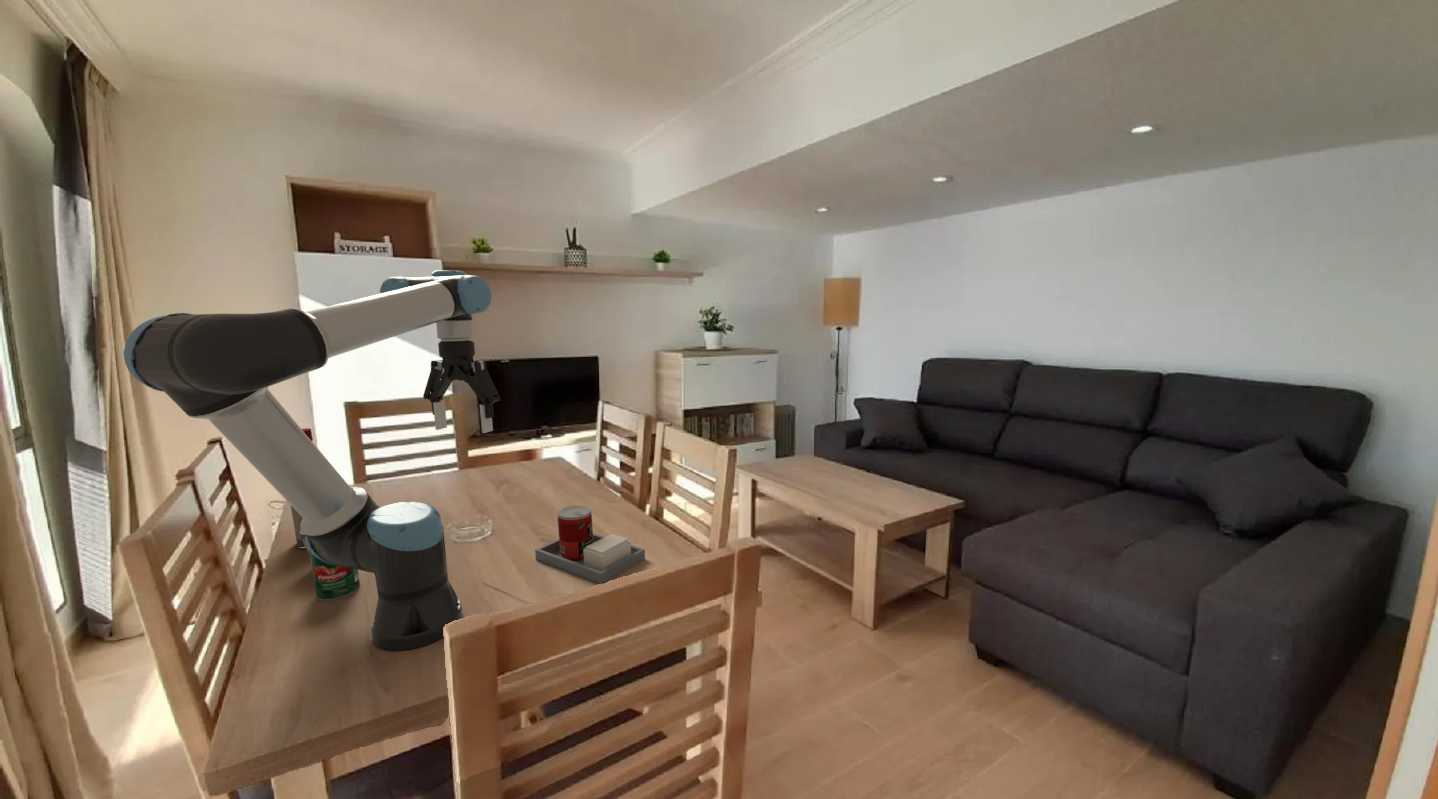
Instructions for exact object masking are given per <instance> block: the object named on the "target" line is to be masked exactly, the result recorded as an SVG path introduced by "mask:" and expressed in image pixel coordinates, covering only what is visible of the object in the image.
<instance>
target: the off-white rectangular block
mask: <svg viewBox="0 0 1438 799" xmlns="http://www.w3.org/2000/svg"><path fill="white" fill-rule="evenodd" d="M631 543H632V542H631V540H629V539H628V538H627V537H623V536H620V535H617V534H614V533H611V534H609V535H606V536H604V538H602V539H600V540H598V541H596V542H594V543H592V544H590V545H588V546H586V548H585V549H583V553H584V566H587V567H590V568H593V569H595V570H598V571H603V570H605V569H607V568H608V567H610V566H612V565H614V564H615V563H617V562H619V561H621V560H623V559H624V558H626V557H628V556H630V555H631V545H632V544H631Z"/></svg>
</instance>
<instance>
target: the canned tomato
mask: <svg viewBox="0 0 1438 799" xmlns="http://www.w3.org/2000/svg"><path fill="white" fill-rule="evenodd" d="M310 558H311V559H310ZM309 559H310V563H311V569H312V576H313V581H314V589H315V596H316V597H317V598H316V599H317V600H318V599H319V601H321V600H331V601H336V600H340V599H343V598H345V597H349V596H350V595H353V594H354V593H355V592H357V591H358V590H359V589H360V588H361V582H360V576H359V570H358V569H353V568H349V567H344V566H336V565H331V564H328V563H326V562H324V561H322V560H320V559H318V558H317V557H315V556H314V555H313V554H312V553H311V552H310V557H309ZM352 593H353V594H352Z"/></svg>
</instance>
